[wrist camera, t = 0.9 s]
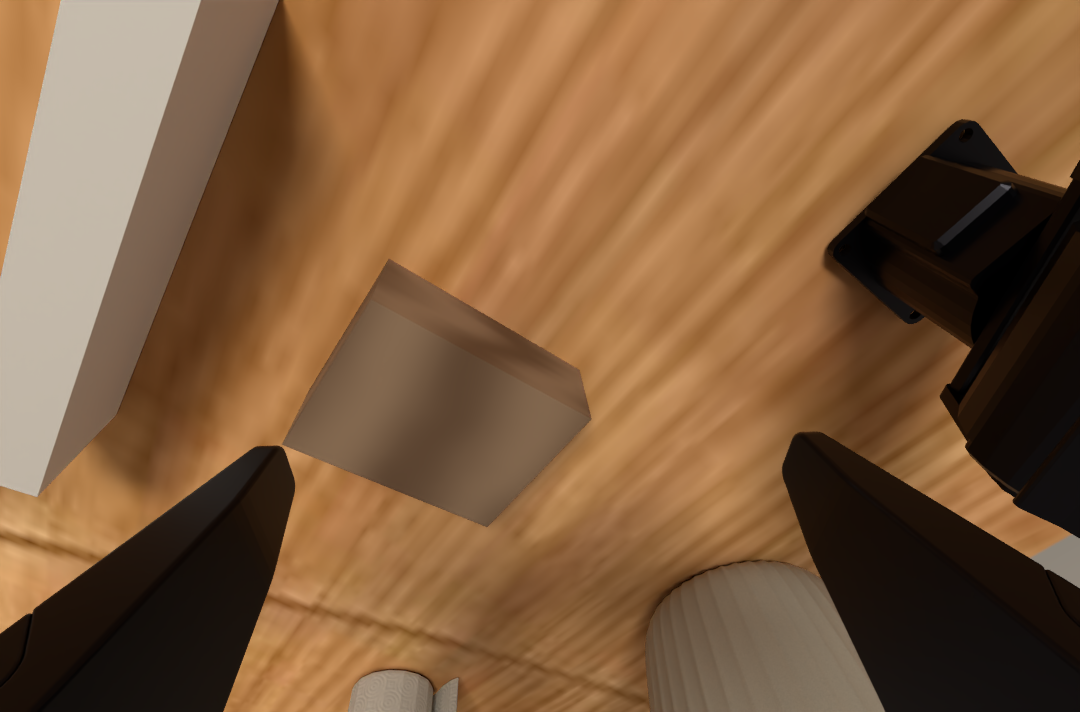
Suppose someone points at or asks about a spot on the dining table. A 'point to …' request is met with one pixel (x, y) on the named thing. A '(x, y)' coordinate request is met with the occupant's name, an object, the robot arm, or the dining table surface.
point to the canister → (754, 646)
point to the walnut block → (439, 401)
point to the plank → (108, 208)
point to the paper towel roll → (401, 694)
